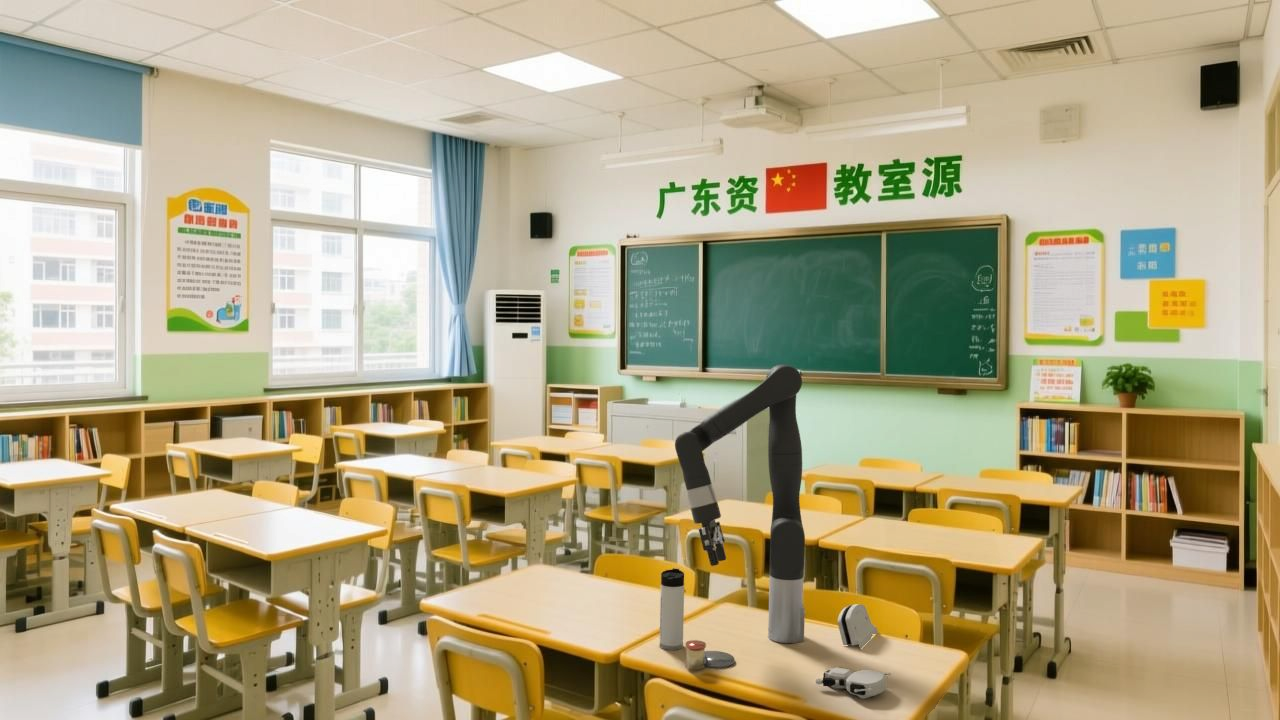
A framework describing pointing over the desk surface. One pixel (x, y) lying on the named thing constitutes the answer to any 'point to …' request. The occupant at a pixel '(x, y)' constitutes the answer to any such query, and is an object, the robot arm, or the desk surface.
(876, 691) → the robot toy
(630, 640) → the desk surface
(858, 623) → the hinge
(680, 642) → the travel mug
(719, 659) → the grey base with jar
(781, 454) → the robot arm
